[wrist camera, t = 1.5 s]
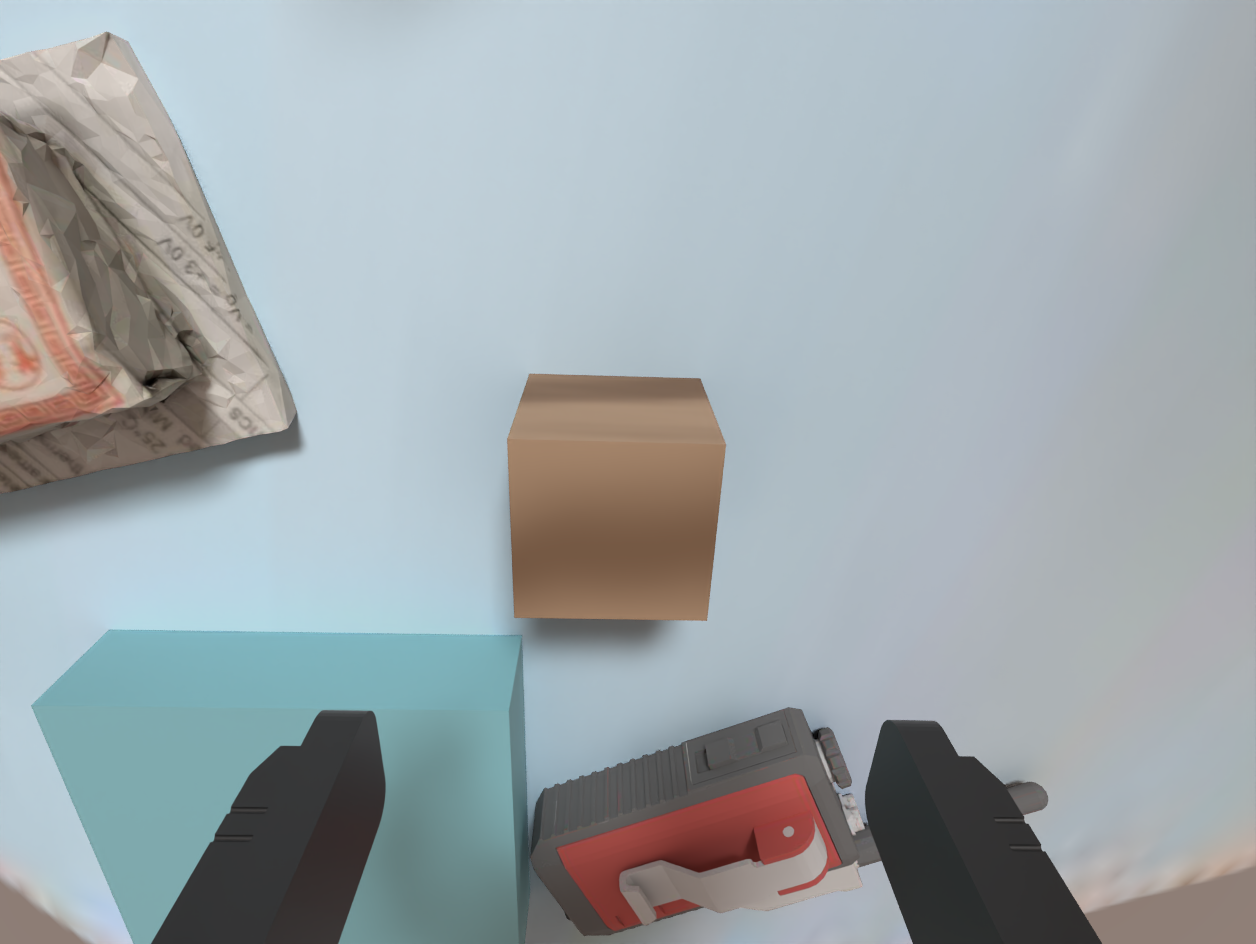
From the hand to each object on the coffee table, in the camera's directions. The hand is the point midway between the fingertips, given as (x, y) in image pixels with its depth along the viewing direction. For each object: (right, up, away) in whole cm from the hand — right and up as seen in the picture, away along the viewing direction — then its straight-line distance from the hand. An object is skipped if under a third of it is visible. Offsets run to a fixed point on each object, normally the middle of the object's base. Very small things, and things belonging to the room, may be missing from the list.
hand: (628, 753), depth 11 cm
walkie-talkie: (+6, -8, +18) cm, 20 cm away
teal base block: (-11, -7, +16) cm, 21 cm away
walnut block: (0, +5, +10) cm, 12 cm away
